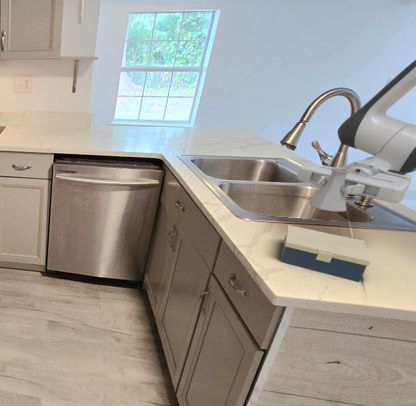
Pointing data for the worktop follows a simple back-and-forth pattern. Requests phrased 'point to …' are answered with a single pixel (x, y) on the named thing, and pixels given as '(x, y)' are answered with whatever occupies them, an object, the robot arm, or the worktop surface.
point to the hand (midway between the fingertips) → (332, 187)
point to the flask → (331, 192)
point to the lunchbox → (325, 253)
